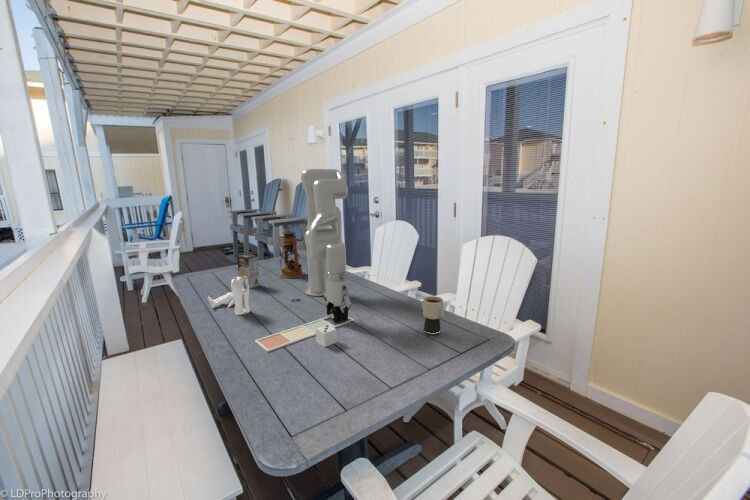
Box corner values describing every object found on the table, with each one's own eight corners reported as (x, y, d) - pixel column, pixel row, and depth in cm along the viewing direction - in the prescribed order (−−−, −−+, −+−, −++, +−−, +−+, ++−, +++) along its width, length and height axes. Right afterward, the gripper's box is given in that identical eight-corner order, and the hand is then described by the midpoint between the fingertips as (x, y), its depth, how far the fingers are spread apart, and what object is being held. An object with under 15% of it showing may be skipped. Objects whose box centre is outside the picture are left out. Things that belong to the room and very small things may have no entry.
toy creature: (206, 293, 155) (232, 283, 161) (210, 305, 157) (237, 295, 163) (209, 302, 145) (238, 291, 151) (214, 314, 147) (242, 303, 153)
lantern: (309, 276, 197) (306, 224, 190) (287, 280, 189) (284, 226, 182) (296, 270, 210) (293, 221, 203) (275, 273, 202) (272, 222, 196)
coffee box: (238, 285, 180) (236, 255, 177) (248, 282, 186) (246, 253, 182) (250, 288, 176) (247, 258, 172) (260, 285, 181) (258, 255, 178)
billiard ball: (326, 321, 137) (326, 307, 136) (337, 316, 141) (336, 302, 140) (337, 325, 133) (337, 310, 132) (348, 320, 138) (347, 306, 137)
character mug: (449, 335, 125) (451, 301, 122) (436, 341, 121) (437, 306, 118) (428, 325, 134) (429, 293, 131) (414, 330, 129) (415, 297, 127)
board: (339, 314, 144) (339, 312, 144) (354, 321, 137) (354, 319, 137) (254, 342, 120) (254, 340, 120) (267, 352, 113) (267, 350, 113)
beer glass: (245, 316, 142) (242, 281, 138) (230, 314, 143) (226, 280, 140) (254, 309, 148) (251, 276, 145) (239, 308, 150) (236, 275, 147)
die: (328, 337, 123) (327, 324, 122) (336, 342, 120) (336, 328, 119) (316, 342, 120) (315, 328, 119) (324, 347, 116) (324, 333, 115)
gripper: (358, 278, 130) (358, 321, 133) (331, 269, 142) (332, 308, 146) (342, 282, 125) (343, 327, 128) (315, 272, 137) (317, 313, 141)
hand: (337, 317), depth 137 cm, fingers open, 8 cm apart
